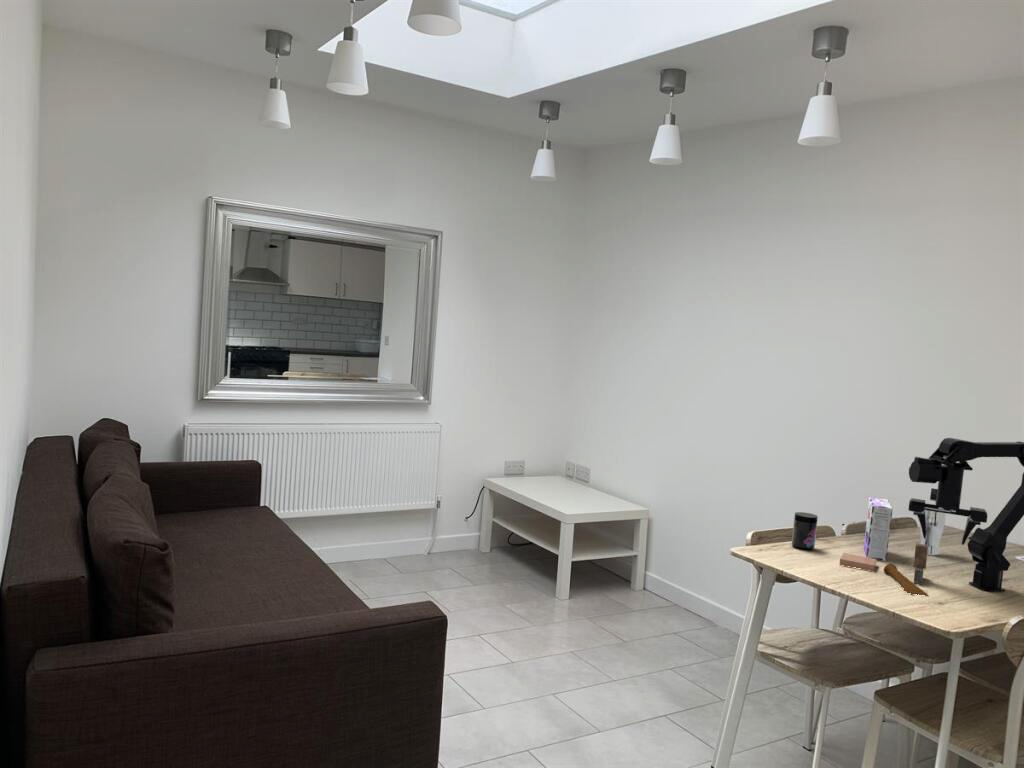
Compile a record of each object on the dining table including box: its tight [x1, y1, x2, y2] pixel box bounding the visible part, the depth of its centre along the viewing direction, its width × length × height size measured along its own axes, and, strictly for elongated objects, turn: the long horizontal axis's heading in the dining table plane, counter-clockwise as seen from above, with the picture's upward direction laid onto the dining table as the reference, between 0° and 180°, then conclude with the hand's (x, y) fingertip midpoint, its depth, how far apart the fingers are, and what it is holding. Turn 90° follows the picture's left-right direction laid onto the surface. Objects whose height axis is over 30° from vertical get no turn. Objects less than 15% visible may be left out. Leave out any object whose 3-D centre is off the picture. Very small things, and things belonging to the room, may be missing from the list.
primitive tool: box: [883, 563, 930, 597], centre depth 219 cm, size 19×6×4 cm, turn 0°
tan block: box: [839, 552, 877, 572], centre depth 234 cm, size 2×8×9 cm
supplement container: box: [791, 511, 819, 552], centre depth 249 cm, size 7×7×10 cm
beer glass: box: [919, 508, 946, 557], centre depth 255 cm, size 7×7×15 cm
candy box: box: [863, 496, 893, 562], centre depth 248 cm, size 14×6×16 cm, turn 160°
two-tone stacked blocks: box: [913, 543, 928, 586], centre depth 223 cm, size 3×9×10 cm, turn 152°
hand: (943, 541), depth 220 cm, fingers open, 9 cm apart
